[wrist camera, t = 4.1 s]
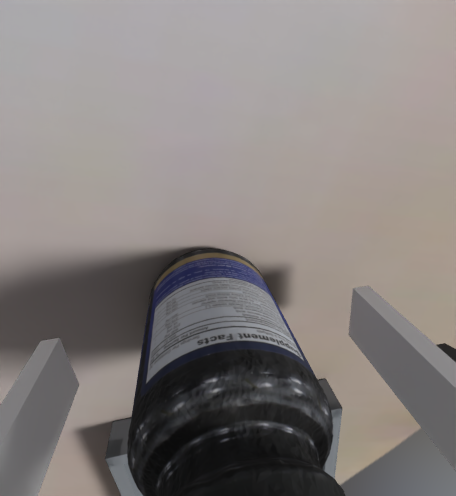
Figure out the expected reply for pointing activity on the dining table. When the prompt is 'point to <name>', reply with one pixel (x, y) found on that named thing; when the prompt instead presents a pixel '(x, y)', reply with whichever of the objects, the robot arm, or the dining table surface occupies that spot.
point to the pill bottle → (225, 390)
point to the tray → (119, 447)
